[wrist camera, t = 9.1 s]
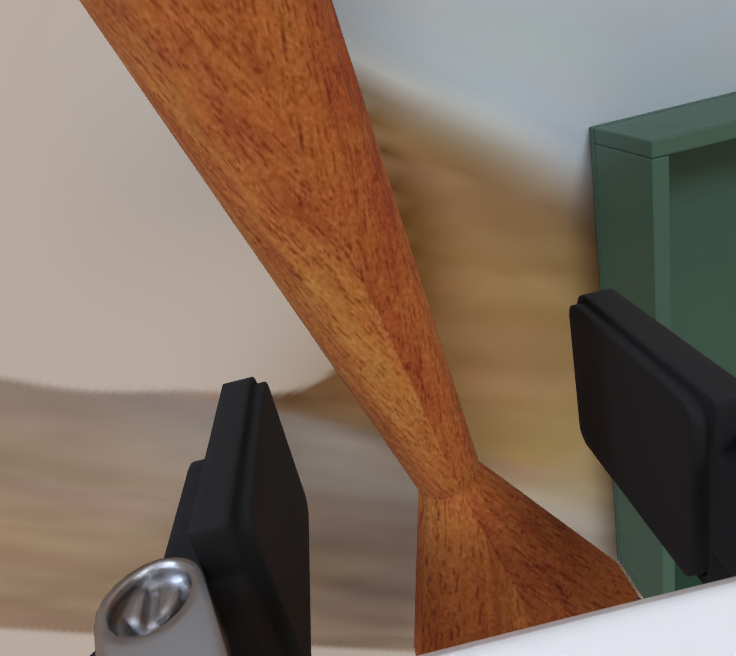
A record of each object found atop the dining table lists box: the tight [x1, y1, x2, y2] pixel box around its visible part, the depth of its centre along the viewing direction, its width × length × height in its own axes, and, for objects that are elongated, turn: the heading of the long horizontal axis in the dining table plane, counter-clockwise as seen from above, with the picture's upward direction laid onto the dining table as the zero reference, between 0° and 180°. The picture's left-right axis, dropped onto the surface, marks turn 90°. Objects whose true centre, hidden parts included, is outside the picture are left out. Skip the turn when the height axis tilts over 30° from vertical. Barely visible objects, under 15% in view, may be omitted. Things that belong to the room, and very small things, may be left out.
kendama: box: [80, 0, 641, 656], centre depth 10 cm, size 6×6×20 cm
